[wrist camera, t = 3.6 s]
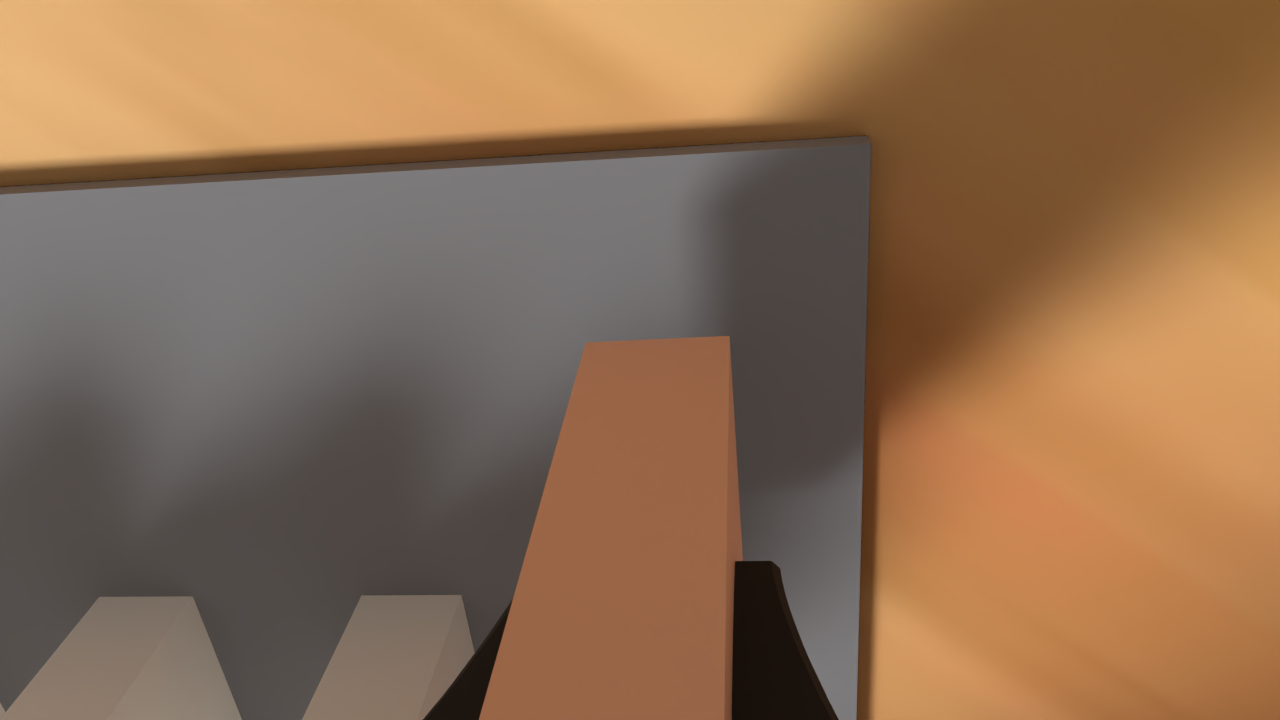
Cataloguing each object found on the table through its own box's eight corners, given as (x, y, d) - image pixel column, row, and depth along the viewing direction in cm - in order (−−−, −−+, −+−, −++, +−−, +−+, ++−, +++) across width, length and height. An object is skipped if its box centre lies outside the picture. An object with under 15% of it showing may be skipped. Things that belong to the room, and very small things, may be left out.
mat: (867, 135, 14) (871, 143, 14) (850, 839, 22) (852, 856, 22) (-859, 237, 18) (-890, 246, 18) (-360, 810, 26) (-375, 824, 25)
